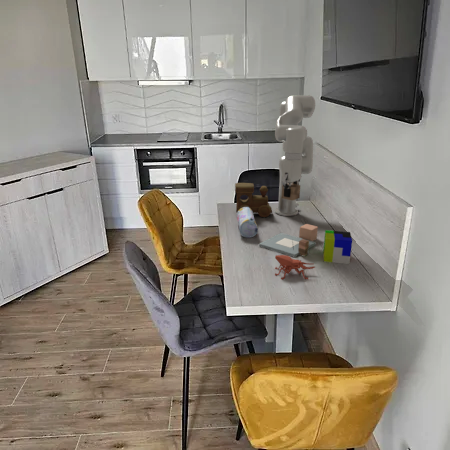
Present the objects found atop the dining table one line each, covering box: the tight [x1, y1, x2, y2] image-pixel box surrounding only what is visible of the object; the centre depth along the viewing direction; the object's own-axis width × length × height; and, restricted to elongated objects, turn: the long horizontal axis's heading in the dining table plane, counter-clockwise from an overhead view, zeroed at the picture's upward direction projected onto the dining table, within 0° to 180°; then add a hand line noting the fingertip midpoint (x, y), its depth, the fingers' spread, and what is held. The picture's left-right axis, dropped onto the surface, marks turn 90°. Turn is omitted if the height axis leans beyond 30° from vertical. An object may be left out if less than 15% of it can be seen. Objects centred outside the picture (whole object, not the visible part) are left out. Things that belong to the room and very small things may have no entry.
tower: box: [298, 239, 310, 257], centre depth 167 cm, size 3×3×6 cm
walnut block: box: [281, 183, 301, 201], centre depth 183 cm, size 6×6×6 cm
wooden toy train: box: [234, 182, 273, 218], centre depth 215 cm, size 20×11×17 cm, turn 89°
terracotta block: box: [298, 223, 319, 242], centre depth 184 cm, size 6×6×6 cm
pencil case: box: [236, 207, 259, 238], centre depth 193 cm, size 21×9×10 cm, turn 3°
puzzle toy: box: [322, 229, 353, 265], centre depth 164 cm, size 10×10×10 cm
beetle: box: [274, 242, 316, 281], centre depth 150 cm, size 15×12×13 cm
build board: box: [258, 232, 317, 258], centre depth 177 cm, size 18×18×1 cm
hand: (290, 194), depth 183 cm, fingers closed on walnut block, 6 cm apart
